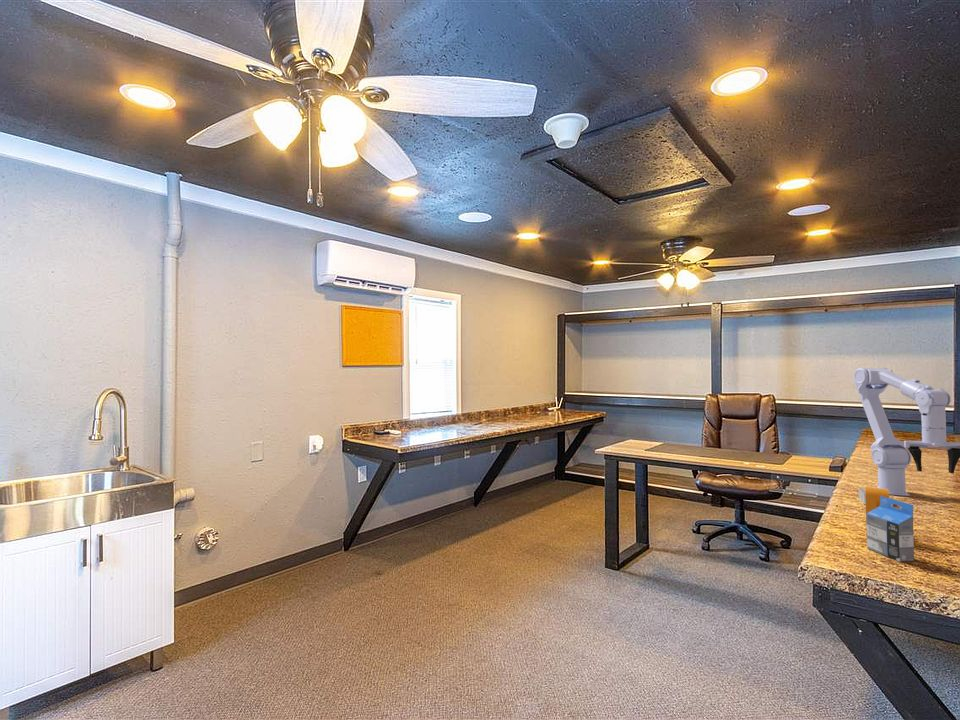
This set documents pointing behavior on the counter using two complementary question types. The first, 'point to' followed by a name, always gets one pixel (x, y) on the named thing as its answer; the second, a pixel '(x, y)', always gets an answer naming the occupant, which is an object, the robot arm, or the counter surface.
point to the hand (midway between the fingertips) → (935, 471)
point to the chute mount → (863, 495)
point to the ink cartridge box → (891, 530)
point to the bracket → (874, 498)
